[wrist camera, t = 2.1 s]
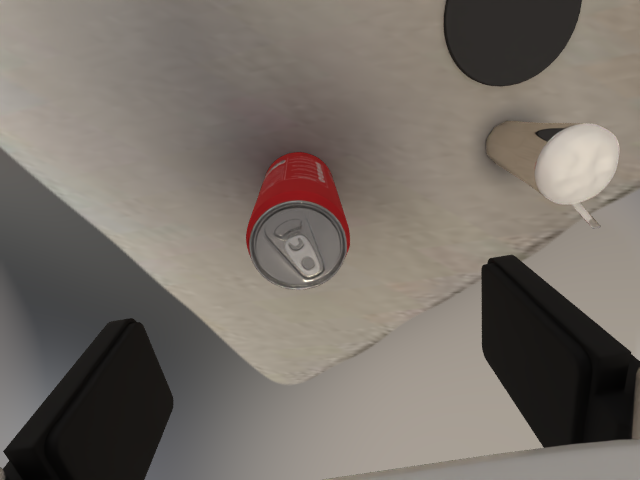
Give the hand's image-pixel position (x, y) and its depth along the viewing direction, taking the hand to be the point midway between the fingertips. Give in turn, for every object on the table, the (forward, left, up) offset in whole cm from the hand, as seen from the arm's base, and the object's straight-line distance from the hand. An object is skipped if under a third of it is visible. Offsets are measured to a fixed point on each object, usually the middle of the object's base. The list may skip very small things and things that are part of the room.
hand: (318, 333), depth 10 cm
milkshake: (+15, -1, -20) cm, 25 cm away
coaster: (+15, +8, -20) cm, 26 cm away
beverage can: (-1, -1, -20) cm, 20 cm away
